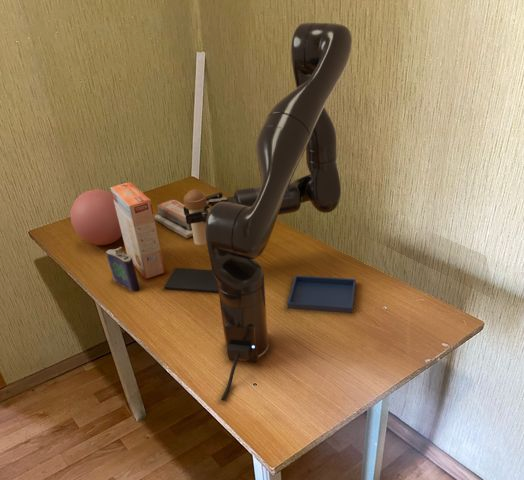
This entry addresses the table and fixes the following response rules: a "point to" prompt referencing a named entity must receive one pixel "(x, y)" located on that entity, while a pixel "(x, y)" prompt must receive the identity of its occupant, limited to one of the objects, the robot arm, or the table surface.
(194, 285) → the mat
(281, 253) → the table surface
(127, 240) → the cracker box
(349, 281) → the tray
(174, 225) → the packaged product
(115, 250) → the flask
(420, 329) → the table surface
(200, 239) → the mushroom
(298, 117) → the robot arm
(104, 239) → the balloon
